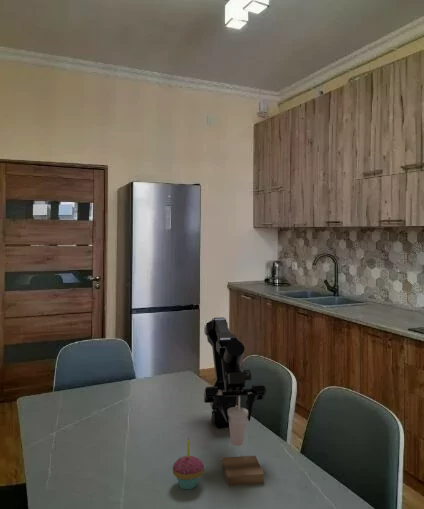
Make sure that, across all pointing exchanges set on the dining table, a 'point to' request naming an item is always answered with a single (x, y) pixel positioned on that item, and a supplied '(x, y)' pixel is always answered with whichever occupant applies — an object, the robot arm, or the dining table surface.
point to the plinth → (242, 470)
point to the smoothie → (237, 423)
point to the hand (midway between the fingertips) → (238, 421)
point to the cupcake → (188, 469)
